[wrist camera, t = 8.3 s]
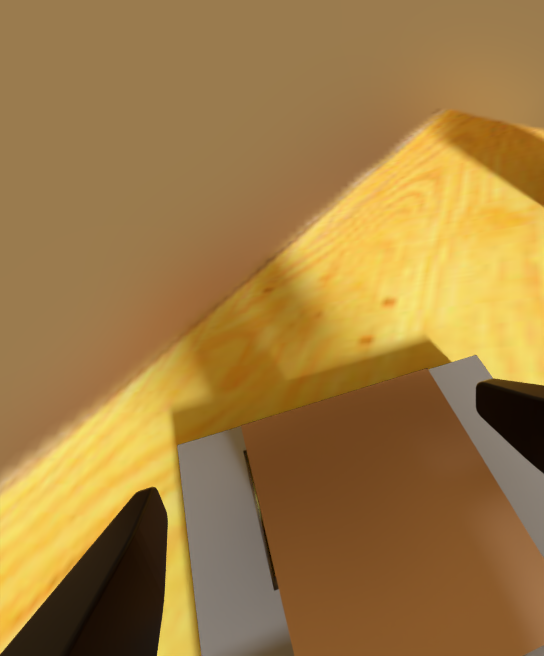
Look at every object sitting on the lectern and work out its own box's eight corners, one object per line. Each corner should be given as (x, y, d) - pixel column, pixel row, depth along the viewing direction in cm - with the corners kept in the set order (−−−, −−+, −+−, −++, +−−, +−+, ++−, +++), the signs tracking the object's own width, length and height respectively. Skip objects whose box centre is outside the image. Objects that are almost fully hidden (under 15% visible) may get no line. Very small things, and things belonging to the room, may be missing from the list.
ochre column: (357, 522, 14) (584, 625, 4) (284, 550, 14) (318, 758, 3) (328, 442, 16) (427, 367, 6) (262, 464, 16) (240, 425, 5)
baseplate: (674, 695, 11) (822, 772, 8) (250, 932, 9) (239, 1163, 6) (457, 367, 18) (493, 344, 15) (187, 449, 16) (167, 441, 13)
